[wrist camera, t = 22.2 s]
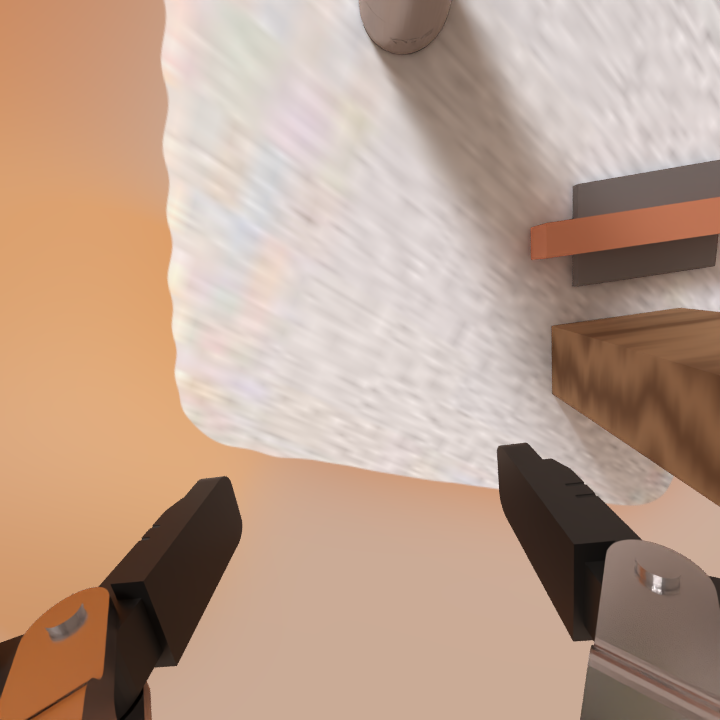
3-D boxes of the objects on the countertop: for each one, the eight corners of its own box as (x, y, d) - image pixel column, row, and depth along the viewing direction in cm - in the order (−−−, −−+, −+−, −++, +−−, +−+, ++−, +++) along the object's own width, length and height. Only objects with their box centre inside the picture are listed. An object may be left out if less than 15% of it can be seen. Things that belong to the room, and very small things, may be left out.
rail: (530, 227, 37) (546, 223, 34) (735, 196, 36) (773, 188, 32) (531, 259, 38) (546, 258, 35) (731, 230, 36) (767, 226, 33)
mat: (573, 186, 37) (578, 184, 36) (716, 161, 36) (726, 158, 35) (572, 286, 40) (577, 286, 39) (706, 266, 38) (715, 265, 37)
